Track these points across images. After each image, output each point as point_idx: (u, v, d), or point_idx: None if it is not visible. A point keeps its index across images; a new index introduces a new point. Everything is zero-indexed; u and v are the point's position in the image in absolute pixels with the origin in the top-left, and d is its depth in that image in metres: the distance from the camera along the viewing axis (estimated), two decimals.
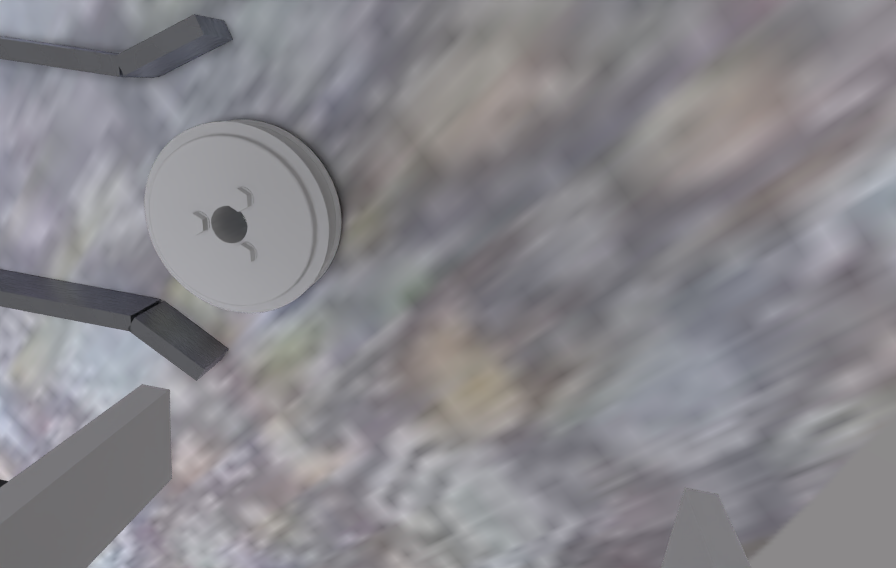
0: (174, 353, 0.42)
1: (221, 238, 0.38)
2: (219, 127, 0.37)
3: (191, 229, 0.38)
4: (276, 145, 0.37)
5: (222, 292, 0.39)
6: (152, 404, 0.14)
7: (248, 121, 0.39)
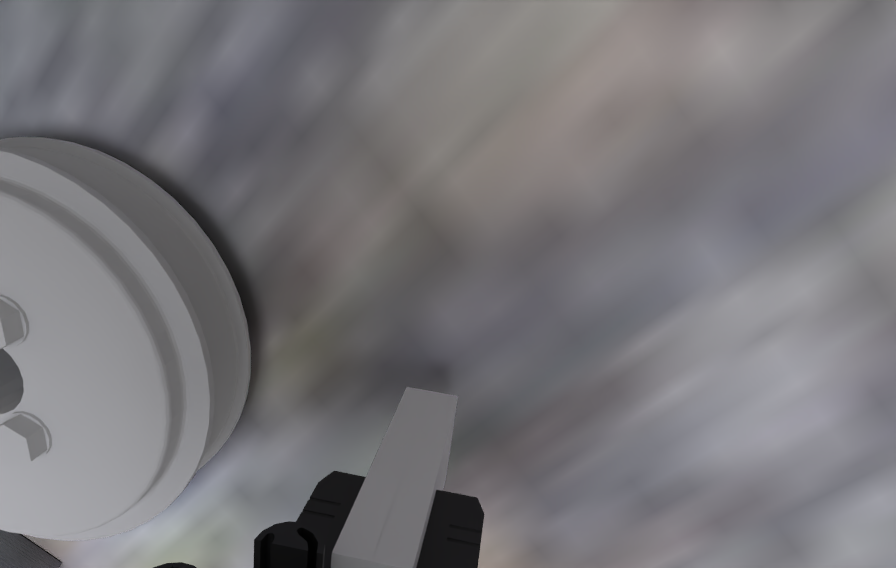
0: None
1: None
2: None
3: None
4: (74, 199, 0.16)
5: None
6: (428, 404, 0.16)
7: (38, 141, 0.18)
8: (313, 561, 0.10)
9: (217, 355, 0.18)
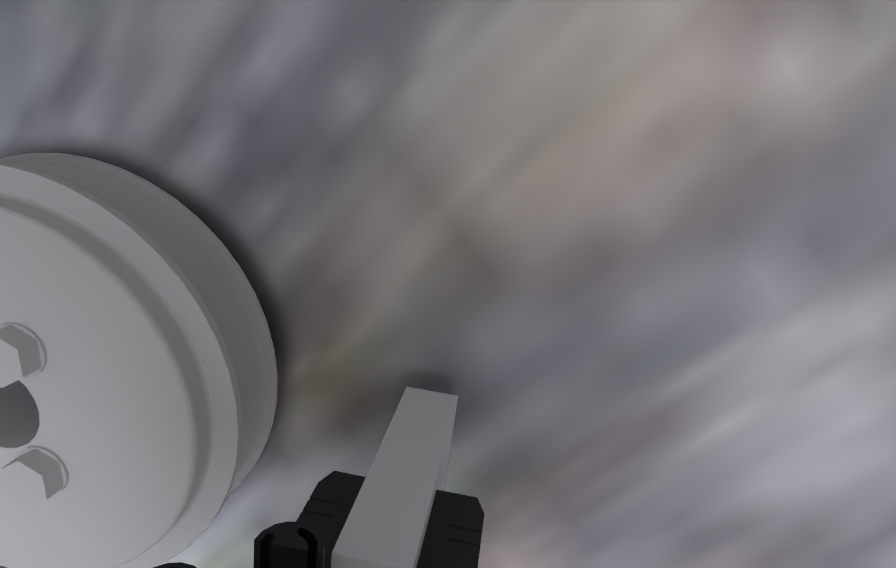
0: None
1: None
2: None
3: None
4: (97, 221, 0.15)
5: (2, 547, 0.17)
6: (428, 404, 0.16)
7: (56, 157, 0.17)
8: (313, 561, 0.10)
9: (244, 385, 0.17)
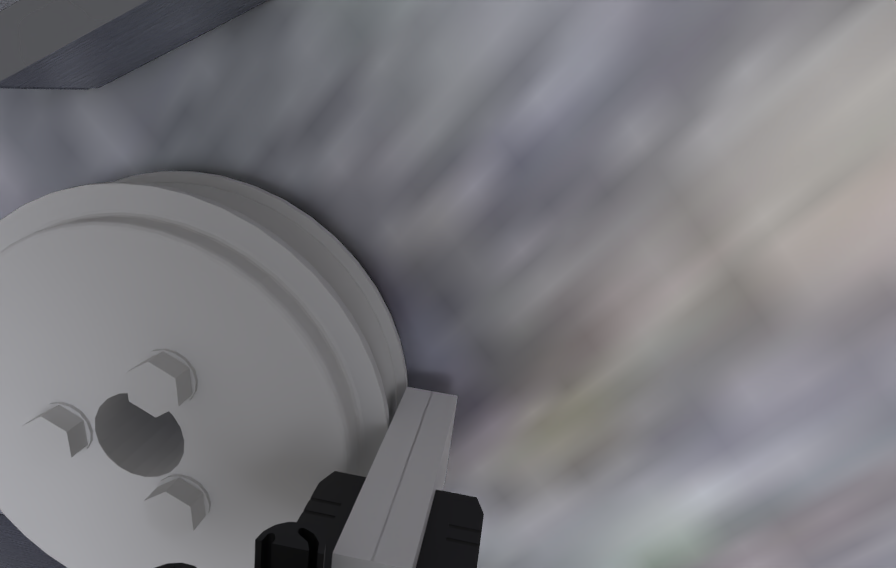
0: None
1: (123, 462, 0.16)
2: (105, 198, 0.14)
3: (42, 452, 0.15)
4: (253, 243, 0.14)
5: None
6: (428, 404, 0.16)
7: (188, 175, 0.16)
8: (313, 561, 0.10)
9: None
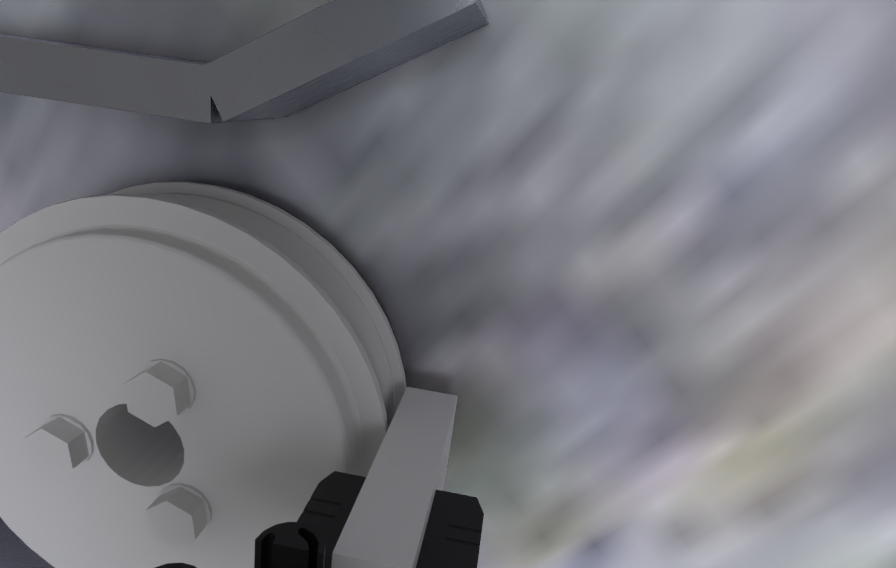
0: None
1: (125, 472, 0.16)
2: (100, 211, 0.14)
3: (44, 464, 0.15)
4: (247, 252, 0.14)
5: None
6: (428, 404, 0.16)
7: (183, 186, 0.16)
8: (313, 561, 0.10)
9: None
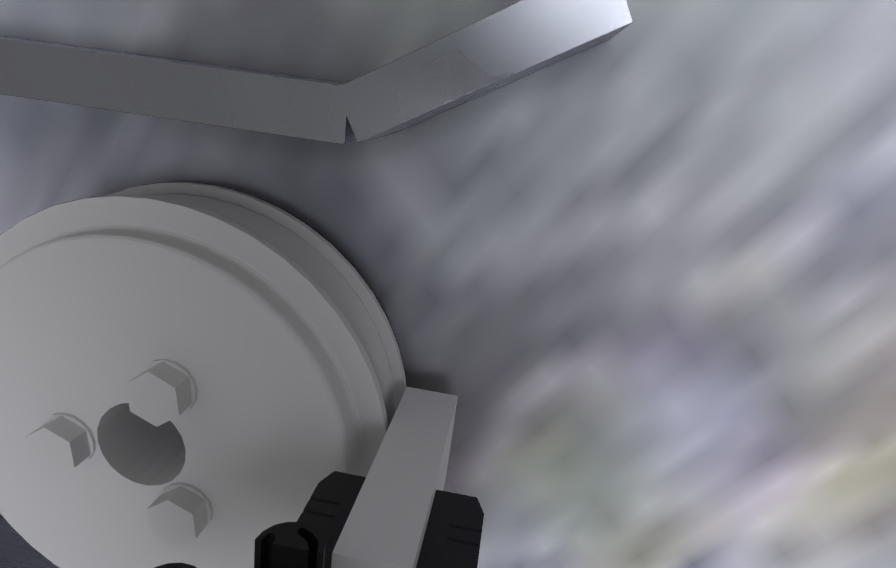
0: None
1: (126, 471, 0.16)
2: (103, 211, 0.14)
3: (46, 463, 0.15)
4: (250, 253, 0.14)
5: None
6: (428, 404, 0.16)
7: (186, 187, 0.16)
8: (313, 561, 0.10)
9: None
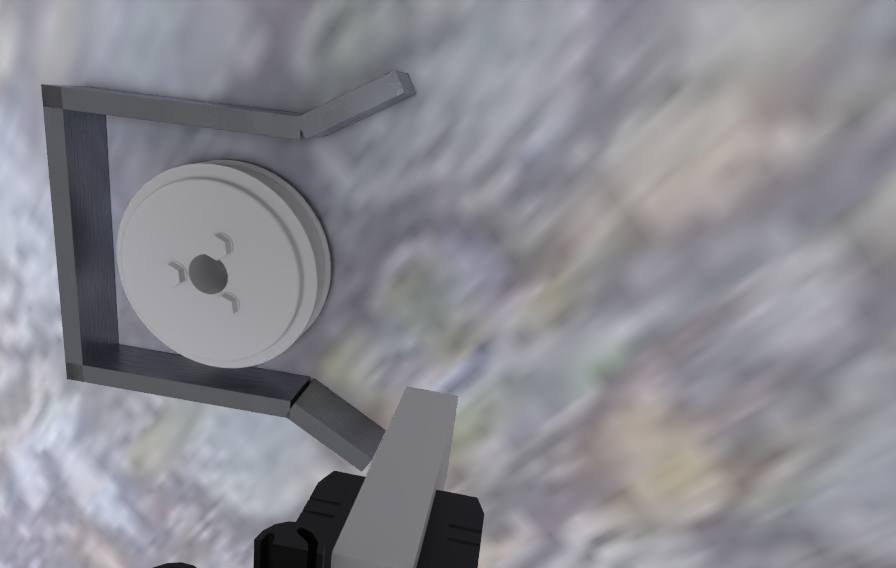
0: (338, 441, 0.37)
1: (200, 289, 0.35)
2: (193, 170, 0.34)
3: (167, 281, 0.34)
4: (255, 186, 0.34)
5: (204, 347, 0.36)
6: (428, 404, 0.16)
7: (225, 161, 0.36)
8: (312, 561, 0.10)
9: (317, 263, 0.36)
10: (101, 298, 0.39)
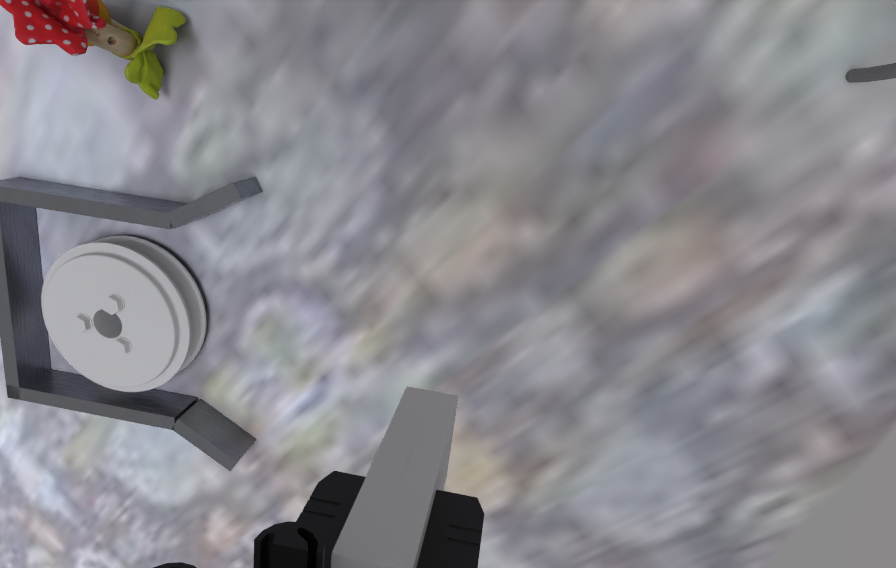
0: (211, 448, 0.49)
1: (103, 334, 0.47)
2: (94, 247, 0.45)
3: (76, 329, 0.46)
4: (140, 260, 0.45)
5: (107, 377, 0.48)
6: (428, 404, 0.16)
7: (123, 237, 0.48)
8: (312, 561, 0.10)
9: (192, 315, 0.47)
10: (34, 335, 0.51)
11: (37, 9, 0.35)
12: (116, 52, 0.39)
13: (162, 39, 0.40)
